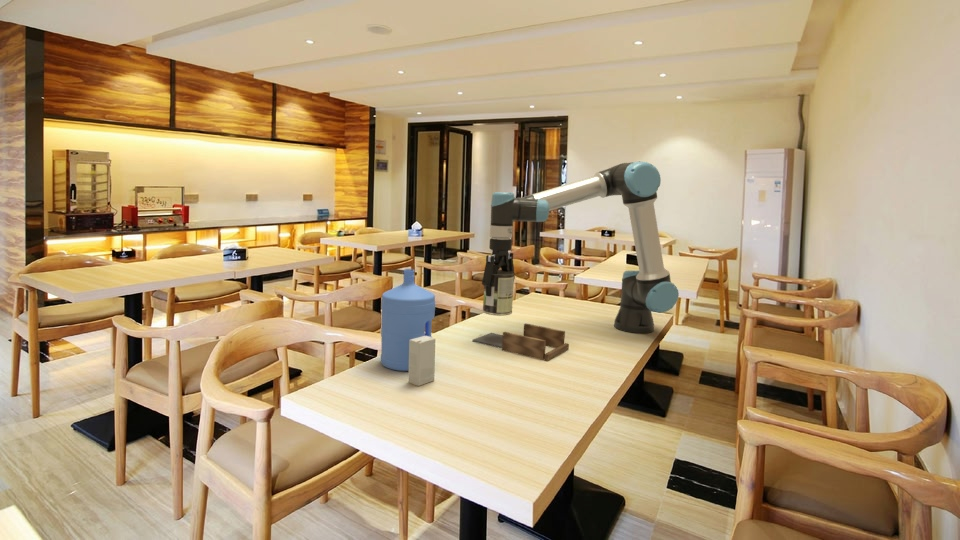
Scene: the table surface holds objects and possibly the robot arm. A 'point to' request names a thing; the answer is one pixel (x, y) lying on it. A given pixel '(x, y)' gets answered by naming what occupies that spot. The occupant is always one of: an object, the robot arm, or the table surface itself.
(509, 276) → the coffee can
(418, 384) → the skincare box
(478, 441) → the table surface
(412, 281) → the water jug
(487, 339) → the mat
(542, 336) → the holder
